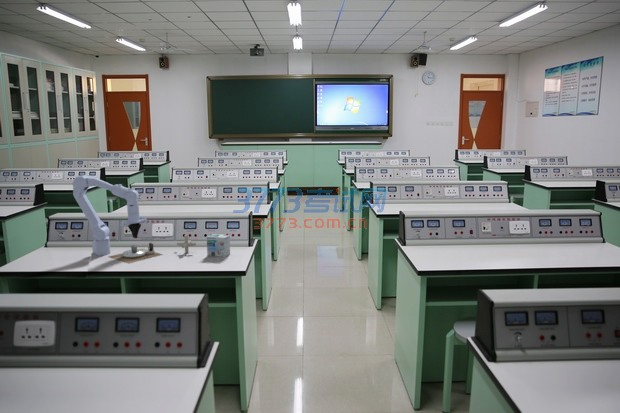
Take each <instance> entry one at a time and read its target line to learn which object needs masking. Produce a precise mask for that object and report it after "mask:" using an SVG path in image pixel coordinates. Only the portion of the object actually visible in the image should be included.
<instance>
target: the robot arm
mask: <svg viewBox="0 0 620 413" xmlns="http://www.w3.org/2000/svg"><path fill="white" fill-rule="evenodd" d="M72 187H73V188H72V193H73V194H72V195H73V197H74V199H75V201H76V203H77V204H78V205H79V208H80V210H81V211H82V213H83V214H84V216H85V217H86V220H87V221H88V222H89V224H90V231H91V232H92V237H93V241H92V242H91V246H92V248H91V249H92V253H93V254H95V255H96V256H107V255H110V254H111V242H110V236H109V235H110V234H111V229H110V227H109V226H107V225H106V223H105V222H103V221H102V219H100V217H99V215H98V213H97V212H96V210H95V208H94V207H93V205H92V203H91V201H90V200H89V198H88V196H87V195H86V194H87V191H88V189H90V187H98V188H101V189H104V190H107V191H110V192H111V194H112V195H114V196H116V197H118V198H119V197H120V198H122V199H125V201H126V207H127V210H126V211H127V221H126V220H125V221H123V222H120V225H119V226H120V227H128V229H129V230H130V231H129V232H131V236H132V237H133V238H134V239H136V238H138V236H139V233H140V229H141V226H142V223H148V218H146V217H145V218H140V209H139V208H140V206H139V197H140V193H139V191H137V189H133V188H132V189H131V188H130V187H126V186H123V184H122V183H119V184H114V185H113V184H111V183H109V182H107V181H104V180H102V179H100V178H97V177H95V176H92V175H89V174H82V175H79V176H76V177H75V178H74V179H73V182H72ZM93 254H90V255H91V256H92V255H93Z"/></svg>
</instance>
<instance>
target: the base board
mask: <svg viewBox="0 0 620 413" xmlns="http://www.w3.org/2000/svg"><path fill="white" fill-rule="evenodd" d="M142 249H143V250H146V249H145V248H142ZM122 253H123V252H121V253H117V254H113V255H108V258H110V259H114V260H117V261H120V262H122V263H124V264H125V263H126V264H129V265H130V264H133V263H137V262H141V261H144V260H147V259H151V258H156V257H160V256H164V254H162V253H158V252H156V251H155V254H146V255H145V256H142V257H138V258H124V257H122Z"/></svg>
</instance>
